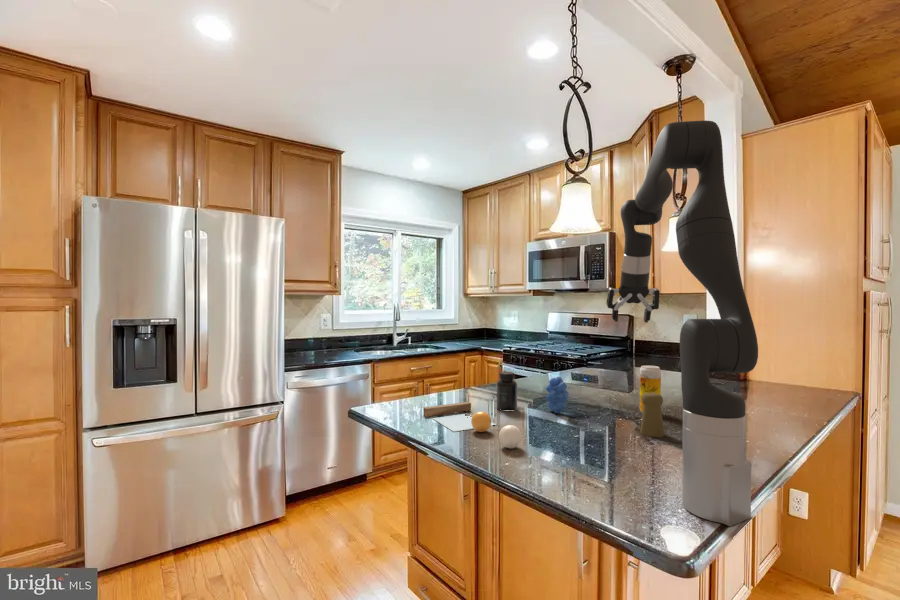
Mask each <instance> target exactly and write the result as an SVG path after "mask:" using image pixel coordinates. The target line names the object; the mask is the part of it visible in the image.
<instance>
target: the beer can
mask: <svg viewBox="0 0 900 600" xmlns="http://www.w3.org/2000/svg"><path fill="white" fill-rule="evenodd" d="M639 368H640V369H639V411H640V412H641V414H642V415H643V409H644V404H643V402H642V396H643V394H645V393H657V394H659V395H661V396H662V392H661V391H662V390H661V389H662V381H661V380H662V379H661V378H662V372H661V368H660V366H656V365H649V364H648V365H647V364H646V365H641V366H640V367H639Z"/></svg>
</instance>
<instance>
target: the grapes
mask: <svg viewBox="0 0 900 600" xmlns="http://www.w3.org/2000/svg"><path fill="white" fill-rule="evenodd" d="M567 388H568V386H567V384H566V383H565V382H564V380H563V378H561V376H556V377H552V378H551V379H550V380H549V382H548V385H547V386H546V387H545V390H546V391H547V393H548V394H547V395H546V396H545V400H546V401H547V402H548V405H547V408H548V409H549V410H550V411H552V412H554V413H555V414H556V413H558V414H559V413H561V412H562V411H564V410H565V408H566V407H567V404H566V401H567V400H568V398H569V392H568V391H567Z"/></svg>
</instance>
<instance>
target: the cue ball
mask: <svg viewBox="0 0 900 600" xmlns="http://www.w3.org/2000/svg"><path fill="white" fill-rule="evenodd" d="M498 438H499V439H498V440H499V441H500V444H501V445H502V446H503V447H504V448H505V449H506V448H507V449H515V448H517V447H519V445H520V444H521V442H522V438H523V437H522V432H521V430H520V429H519V428H518V427H517V426H515V425H512V424H508V425H505V426H503V427H502V428H501V429H500V431H499V434H498Z"/></svg>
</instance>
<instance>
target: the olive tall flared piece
mask: <svg viewBox="0 0 900 600" xmlns="http://www.w3.org/2000/svg"><path fill="white" fill-rule="evenodd" d="M642 402H643V404H644V409H643V414H642V418H641V424H640V431H639V433H640V434H641V435H644V436H646V437H649V438H663V437H665V429H664V428H665V427H664V420H663V414H662V405H664V404H663V403H664V398H663V396H662V394H661V395H659V394H657V393H645V394H643V396H642Z"/></svg>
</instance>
